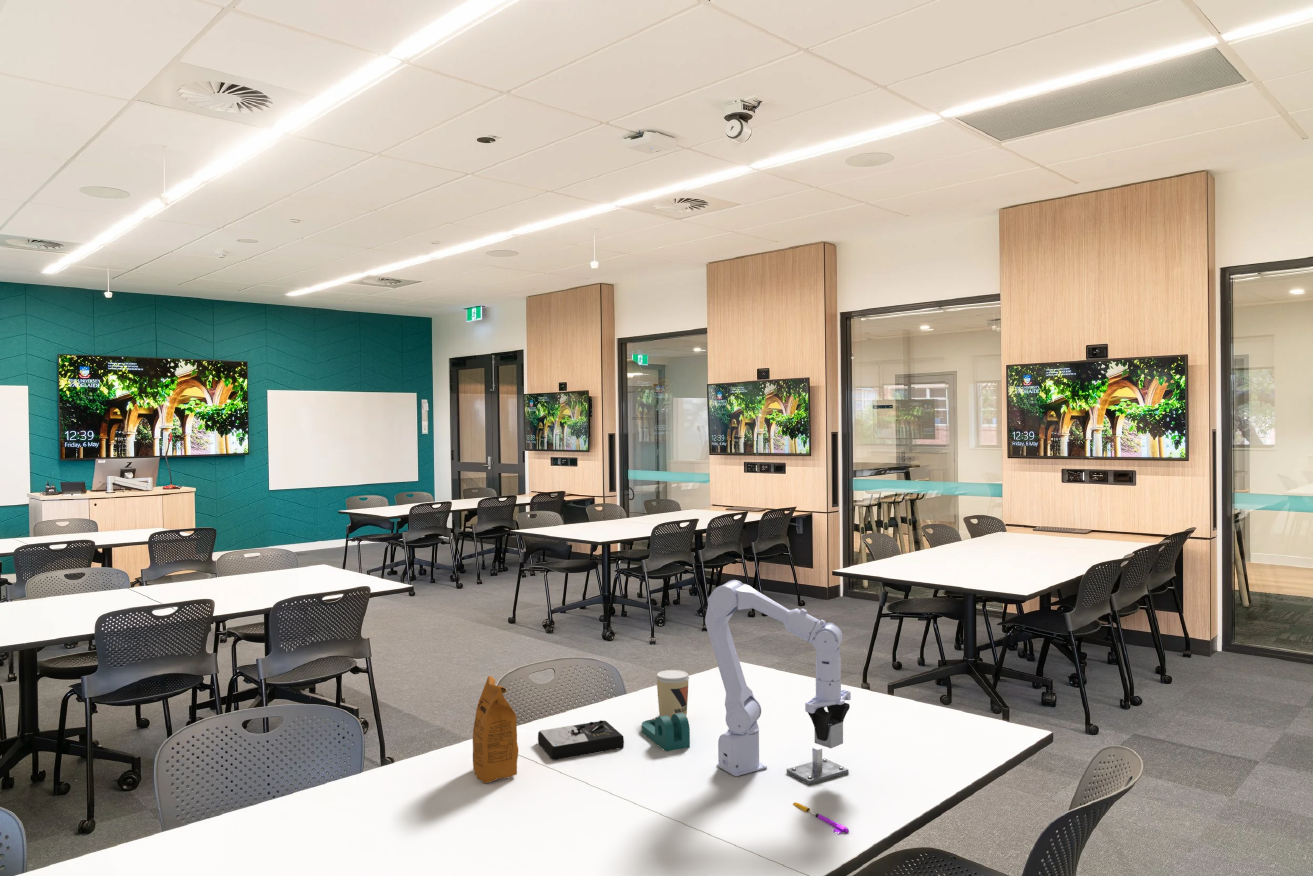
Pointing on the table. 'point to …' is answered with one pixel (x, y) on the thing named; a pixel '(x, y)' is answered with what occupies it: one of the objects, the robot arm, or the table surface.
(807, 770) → the plate
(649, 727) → the bracket
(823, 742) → the tube
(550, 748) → the black printed box
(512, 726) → the coffee package
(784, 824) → the table surface
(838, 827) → the purple and orange rod
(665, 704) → the coffee cup
